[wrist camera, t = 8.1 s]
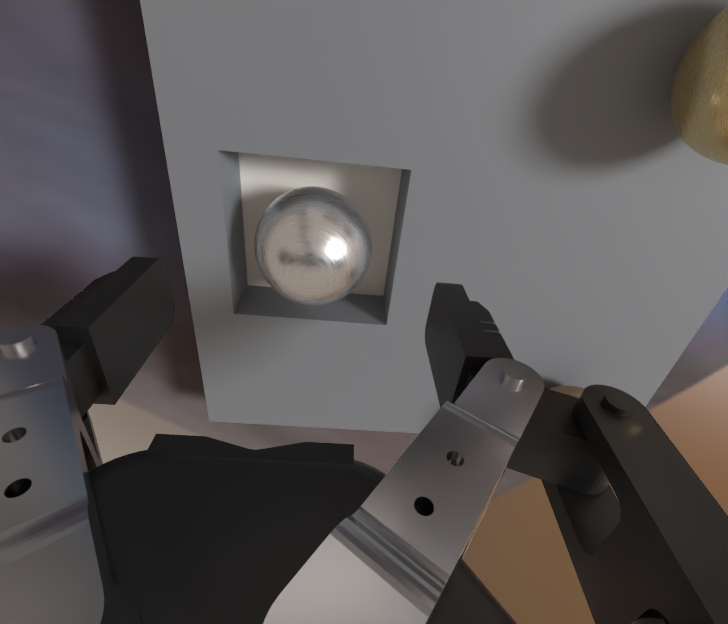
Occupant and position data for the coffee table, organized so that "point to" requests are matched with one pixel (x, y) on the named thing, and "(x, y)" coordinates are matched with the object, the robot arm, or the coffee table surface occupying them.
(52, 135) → the coffee table surface
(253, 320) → the board
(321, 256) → the steel ball
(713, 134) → the brass ball
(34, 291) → the coffee table surface
